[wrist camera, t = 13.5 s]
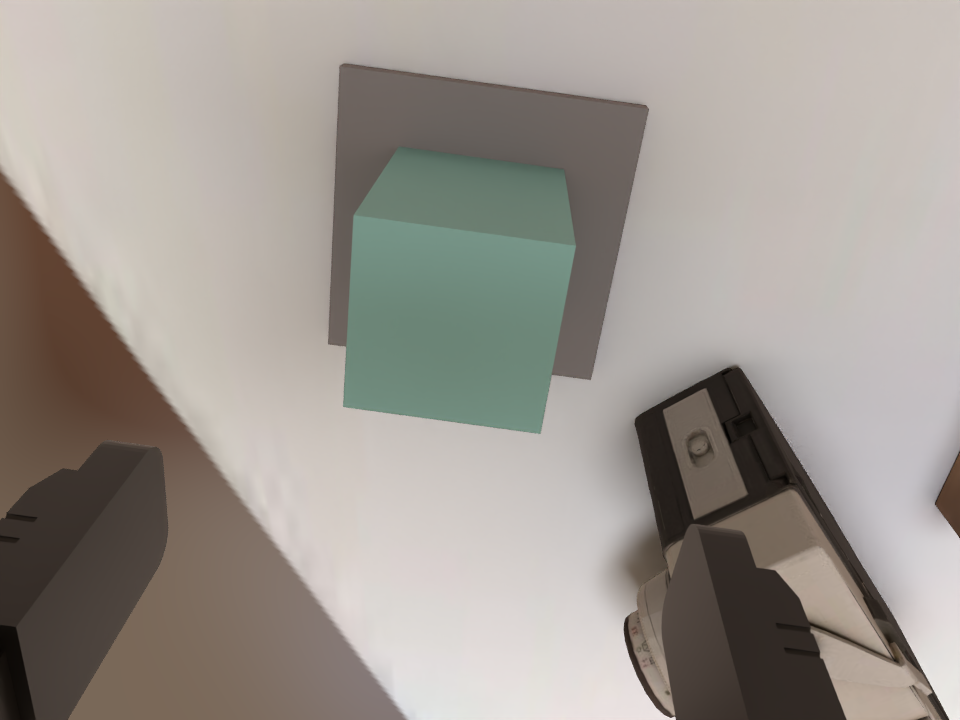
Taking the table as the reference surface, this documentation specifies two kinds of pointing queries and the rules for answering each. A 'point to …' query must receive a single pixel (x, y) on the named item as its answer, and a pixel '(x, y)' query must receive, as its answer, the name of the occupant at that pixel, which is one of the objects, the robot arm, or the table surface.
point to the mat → (499, 136)
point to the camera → (767, 546)
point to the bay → (951, 498)
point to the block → (458, 289)
